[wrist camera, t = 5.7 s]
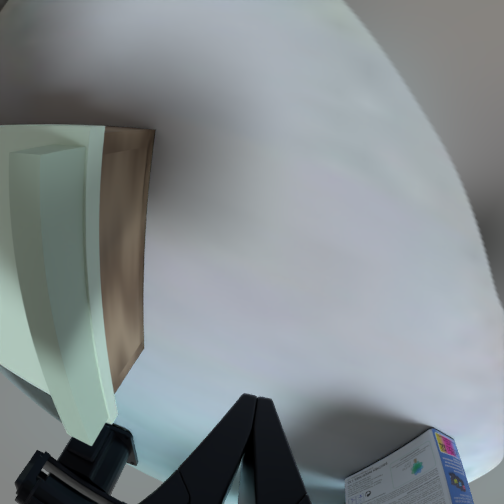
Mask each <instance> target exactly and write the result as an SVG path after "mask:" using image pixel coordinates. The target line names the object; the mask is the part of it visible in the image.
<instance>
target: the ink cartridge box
mask: <svg viewBox="0 0 504 504" xmlns="http://www.w3.org/2000/svg"><path fill="white" fill-rule="evenodd" d="M345 498H346V504H474V503H473V499H472V495H471V492H470V488H469V485H468V481H467V478H466V475H465V471H464V468H463V465H462V462H461V459H460V456H459V453H458V450H457V447H456V444H455V441H454V440H453V439H451V438H450V437H448V436H446V435H444V434H442V433H441V432H439V431H437V430H435V429H433V428H432V429H429V430H427V431H426V432H425V433H423V434H422V435H420V436H419V437H417V438H416V439H414V440H413V441H411V442H410V443H408V444H407V445H405V446H404V447H402V448H400V449H399V450H397V451H395V452H394V453H392V454H390V455H389V456H387V457H385V458H384V459H382V460H380V461H378V462H376V463H374V464H373V465H371V466H369V467H367V468H365V469H363V470H361V471H359V472H358V473H356V474H354V475H352V476H349V477H347V478H346V479H345Z"/></svg>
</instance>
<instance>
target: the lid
mask: <svg viewBox="0 0 504 504" xmlns="http://www.w3.org/2000/svg"><path fill="white" fill-rule="evenodd" d="M104 132H105V126H96V125H70V124H21V125H0V364H1V365H2V366H4V367H5V368H6V369H8V370H10V371H11V372H13V373H14V374H16V375H17V376H19V377H20V378H22V379H24V380H25V381H27V382H29V383H30V384H32V385H34V386H35V387H37V388H39V389H41V390H42V391H44V392H46V393H48V394H49V395H51V397H52V399H53V402H54V404H55V407H56V409H57V412H58V414H59V416H60V419H61V421H62V423H63V425H64V428H65V429H66V432H67V434H68V435H71V436H72V437H74V438H76V439H78V440H80V441H82V442H84V443H86V444H88V445H90V446H92V445H93V443H94V442H95V440H96V438H97V436H98V435H99V433H100V431H101V430H102V428H103V426H104V425H105V423H106V422H107V423H109V424H111V425H112V424H113V422H114V420H115V419H116V417H117V415H118V411H117V406H116V401H115V396H114V391H113V385H112V379H111V373H110V367H109V360H108V353H107V346H106V338H105V329H104V319H103V308H102V296H101V280H100V256H99V204H100V180H101V165H102V152H103V142H104Z"/></svg>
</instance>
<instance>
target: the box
mask: <svg viewBox="0 0 504 504" xmlns="http://www.w3.org/2000/svg"><path fill="white" fill-rule="evenodd" d="M15 125H21V124H15ZM70 125H77V124H70ZM96 126H101V125H96ZM154 136H155V130H152V129H142V128H130V127H117V126H105V132H104V142H103V152H102V165H101V180H100V204H99V256H100V280H101V296H102V308H103V319H104V329H105V338H106V346H107V353H108V360H109V367H110V373H111V379H112V385H113V391H114V394H115V392H116V391H117V389H118V388H119V386H120V385H121V383H122V381H123V380H124V378H125V377H126V375H127V374H128V372H129V371H130V369H131V367H132V366H133V364H134V363H135V361H136V360H137V358H138V357H139V355H140V354H141V352H142V351H143V349H144V326H143V282H144V249H145V229H146V214H147V201H148V189H149V179H150V169H151V160H152V152H153V144H154Z"/></svg>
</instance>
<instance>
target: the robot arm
mask: <svg viewBox="0 0 504 504" xmlns="http://www.w3.org/2000/svg"><path fill="white" fill-rule="evenodd" d="M241 460H242V463H241ZM126 462H127V463H129V464H132V465H135V466H136V465H137V464H138V459H137V455H136V450H135V445H134V441H133V436H132V435H131V434H130V433H129V432H127V431H124V430H122V429H119V428H117V427H114V426H112V425H110V424H107V423H105V425H104V426H103V428H102V430H101V431H100V433H99V435H98V436H97V438H96V440H95V442H94V443H93V445H92V446H90V445H88V444H86V443H84V442H82V441H80V440H78V439H76V438H74V437H72V438H71V439H70V441H69V442H68V444H67V445H66V447H65V449H64V450H63V452H62V454H61V455H60V457H59V458H58V460H55V459H54V458H53V457H51V456H50V454H49V453H47V452H45V453H43V452H40V451H38V450H37V451H36V452H35V454H34V455H33V457H32V458H31V460H30V461H29V463H28V464H27V466H26V467H25V468H24V470H23V471H22V473H21V474H20V475H19V477H18V478H17V480H16V481H15V486H16V489H17V492H16V494H17V497H16V499H15V501H16V502H17V503H19V504H127V503H125V502H121V501H119V500H117V499H116V498H114V497H112V496H111V493H112V491H113V489H114V487H115V484H116V483H117V481H118V479H119V477H120V475H121V472H122V470H123V468H124V466H125V464H126ZM240 463H241V472H240V484H239V496H238V504H312V503H311V501H310V498H309V496H308V495H306V494H307V491H306V488H305V486H304V483H303V481H302V478H301V475H300V473H299V470H298V468H297V465H296V462H295V460H294V457H293V455H292V452H291V449H290V447H289V444H288V441H287V439H286V436H285V433H284V431H283V428H282V425H281V422H280V420H279V417H278V414H277V412H276V409H275V406H274V403H273V401H272V399H270V398H265V397H258V398H257V396H255V395H251V394H246V393H244V394H242V395H241V397H240V398H239V399H238V400H237V401H236V403H235V404H234V405H233V406H232V407H231V409H230V410H229V411H228V412H227V413H226V415H225V416H224V417H223V418H222V419H221V421H220V422H219V423H218V424H217V425H216V426H215V427H214V429H213V430H212V431H211V432H210V433H209V434H208V436H207V437H206V438H205V439H204V440H203V441H202V442H201V443H200V445H199V446H198V447H197V448H196V449H195V450H194V451H193V452H192V453H191V455H190V456H189V457H188V458H187V459H186V460H185V461H184V462H183V463H182V464H181V465H180V467H179V468H178V470H176V471H175V472H174V473H173V474H172V475H171V476H170V477H169V478H168V479H167V480H166V481H165V482H164V483H163V484H162V485H161V486H160V487H159V488H157V489H156V490H155V491H154V492H153V493H152V494H150V495H149V496H148V497H146V498H145V499H144V500H143V501H141V502H140V503H139V504H224V502H225V500H226V498H227V495H228V493H229V490H230V488H231V485H232V483H233V481H234V478H235V476H236V473H237V471H238V468H239V465H240ZM42 468H43V469H45V470H46V471H47V472H49V474H48V475H47V474H45V473H44V472H43V471H41V469H42Z"/></svg>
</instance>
